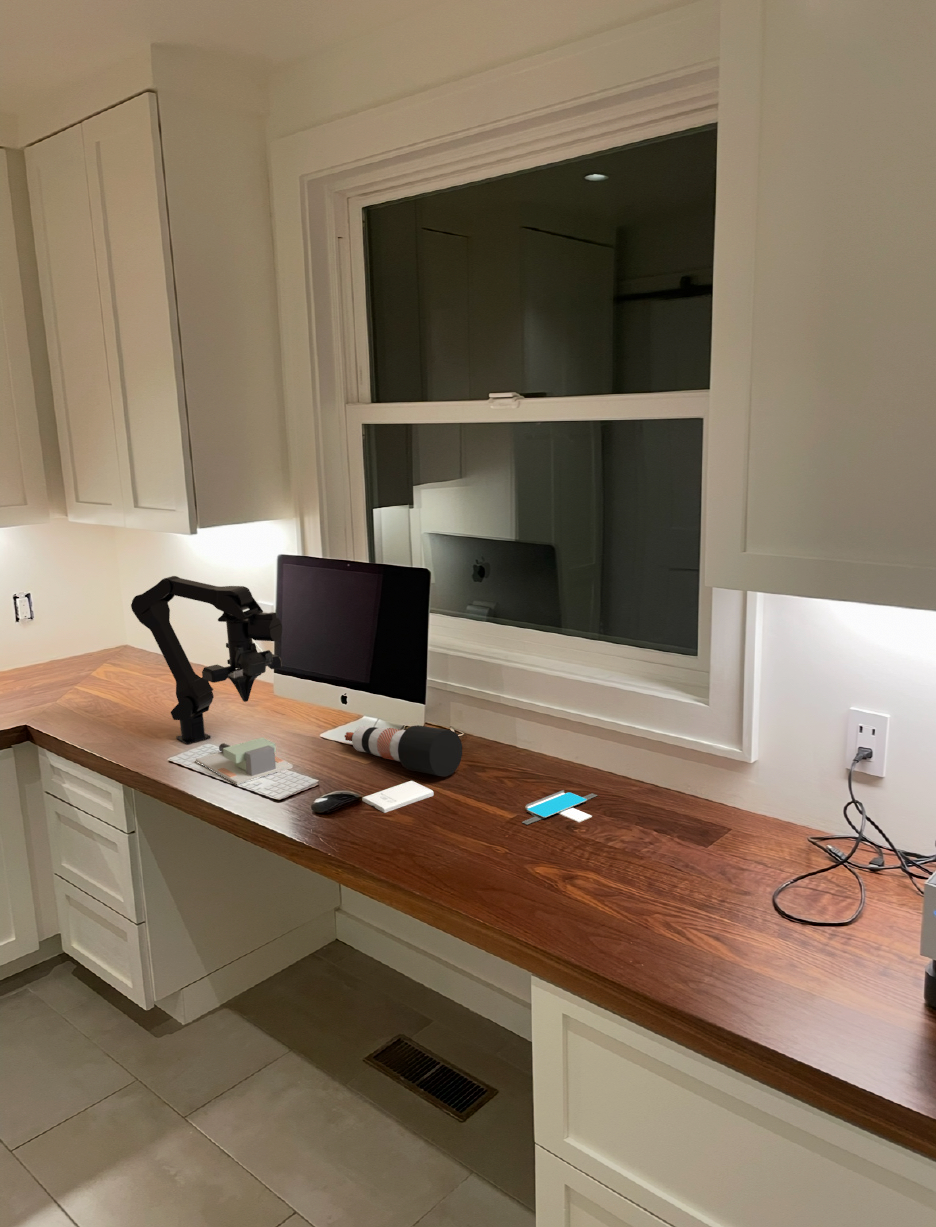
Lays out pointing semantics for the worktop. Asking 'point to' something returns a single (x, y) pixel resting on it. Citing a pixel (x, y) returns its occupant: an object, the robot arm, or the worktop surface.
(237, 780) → the board
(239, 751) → the green block
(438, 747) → the banded black grey cylinder
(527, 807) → the phone stand
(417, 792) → the external hard drive
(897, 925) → the worktop surface
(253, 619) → the robot arm
